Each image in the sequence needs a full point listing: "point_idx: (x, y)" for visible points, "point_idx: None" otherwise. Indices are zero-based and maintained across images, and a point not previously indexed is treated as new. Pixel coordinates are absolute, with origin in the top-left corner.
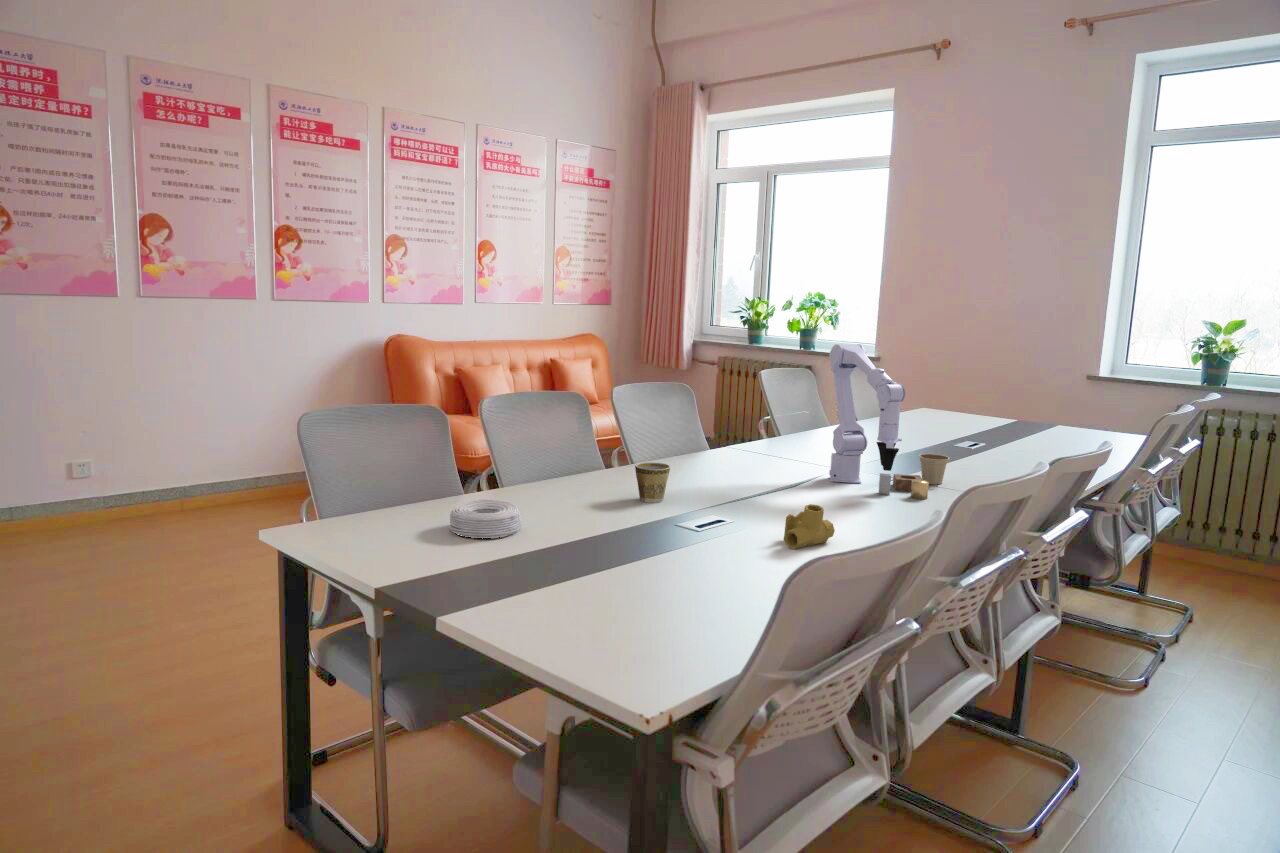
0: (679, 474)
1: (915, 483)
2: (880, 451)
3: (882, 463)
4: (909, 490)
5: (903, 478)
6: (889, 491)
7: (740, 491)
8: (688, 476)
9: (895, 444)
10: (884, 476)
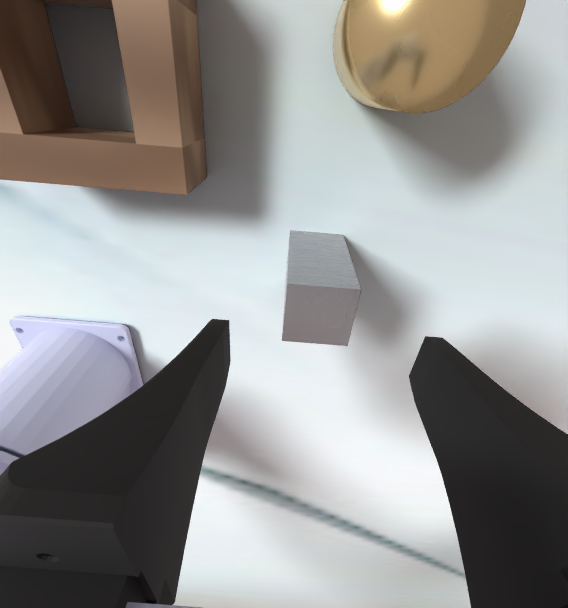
0: (213, 593)
1: (470, 86)
2: (196, 480)
3: (227, 368)
4: (200, 77)
5: (133, 127)
6: (345, 244)
7: (343, 553)
8: (226, 588)
9: (129, 499)
10: (351, 322)
